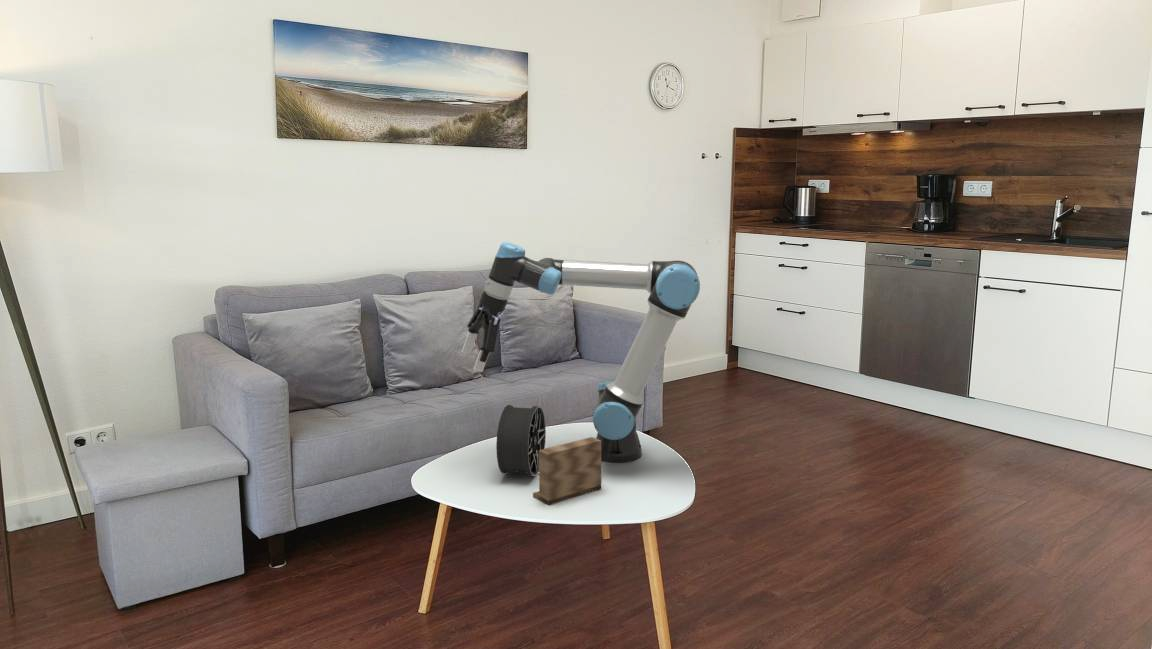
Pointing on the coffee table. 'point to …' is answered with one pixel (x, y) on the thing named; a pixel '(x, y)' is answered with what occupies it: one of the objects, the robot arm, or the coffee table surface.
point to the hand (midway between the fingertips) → (471, 361)
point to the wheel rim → (520, 439)
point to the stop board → (569, 470)
